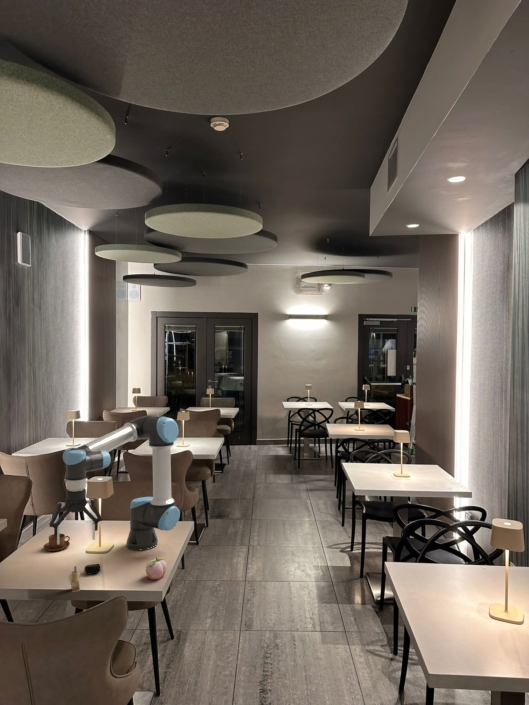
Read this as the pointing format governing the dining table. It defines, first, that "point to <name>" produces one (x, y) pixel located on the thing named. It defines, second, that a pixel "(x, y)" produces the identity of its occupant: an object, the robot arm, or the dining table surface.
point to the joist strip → (76, 590)
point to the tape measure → (92, 568)
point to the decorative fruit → (156, 568)
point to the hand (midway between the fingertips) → (76, 541)
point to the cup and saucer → (53, 544)
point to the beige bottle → (75, 579)
